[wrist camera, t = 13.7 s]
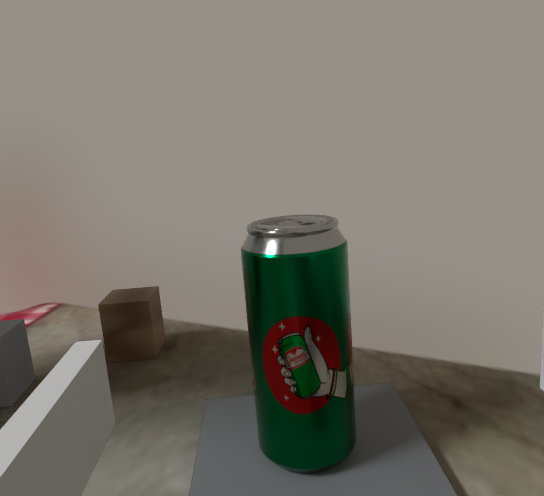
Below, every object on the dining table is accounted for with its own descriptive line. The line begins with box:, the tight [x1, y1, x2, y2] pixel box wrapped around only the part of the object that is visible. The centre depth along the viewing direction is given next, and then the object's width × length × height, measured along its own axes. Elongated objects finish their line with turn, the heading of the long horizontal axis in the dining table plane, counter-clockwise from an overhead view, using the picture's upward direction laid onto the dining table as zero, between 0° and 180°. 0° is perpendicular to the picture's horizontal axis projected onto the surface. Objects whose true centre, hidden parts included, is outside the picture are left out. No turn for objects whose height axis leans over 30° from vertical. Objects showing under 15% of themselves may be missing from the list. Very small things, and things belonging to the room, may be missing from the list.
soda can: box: [241, 215, 356, 473], centre depth 25 cm, size 5×5×12 cm
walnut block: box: [99, 286, 165, 363], centre depth 42 cm, size 4×4×5 cm
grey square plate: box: [189, 383, 457, 496], centre depth 26 cm, size 12×12×1 cm
